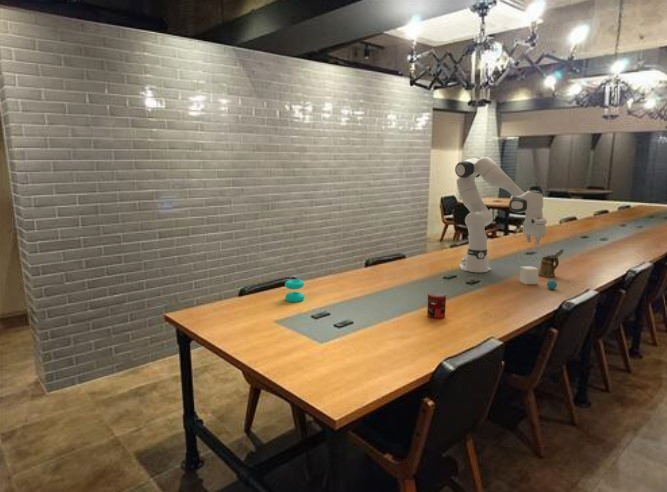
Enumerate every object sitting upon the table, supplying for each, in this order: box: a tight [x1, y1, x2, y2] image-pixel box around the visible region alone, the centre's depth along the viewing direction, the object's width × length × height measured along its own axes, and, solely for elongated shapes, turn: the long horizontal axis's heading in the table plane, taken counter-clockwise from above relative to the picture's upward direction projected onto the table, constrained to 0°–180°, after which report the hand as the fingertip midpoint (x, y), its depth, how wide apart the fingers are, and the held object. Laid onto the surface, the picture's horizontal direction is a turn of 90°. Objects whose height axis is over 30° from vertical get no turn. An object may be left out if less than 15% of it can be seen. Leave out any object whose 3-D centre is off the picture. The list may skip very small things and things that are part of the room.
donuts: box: [284, 278, 306, 303], centre depth 228 cm, size 10×10×10 cm
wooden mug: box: [538, 248, 564, 278], centre depth 267 cm, size 9×14×18 cm, turn 35°
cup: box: [519, 265, 539, 285], centre depth 255 cm, size 7×7×9 cm
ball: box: [546, 279, 558, 290], centre depth 242 cm, size 5×5×5 cm
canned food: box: [426, 290, 447, 320], centre depth 201 cm, size 8×8×11 cm
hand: (532, 243), depth 251 cm, fingers open, 8 cm apart
